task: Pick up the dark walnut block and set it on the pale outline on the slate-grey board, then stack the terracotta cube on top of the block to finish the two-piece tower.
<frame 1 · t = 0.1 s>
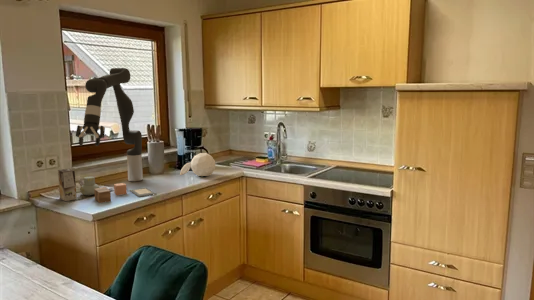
hand: (88, 145, 209), 31 cm above the table, fingers open, 8 cm apart
terracotta cube: (120, 193, 235), on the table
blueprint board: (142, 192, 236), on the table
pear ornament: (198, 175, 285), on the table
air freshener: (90, 194, 233), on the table
walnut block: (102, 200, 221), on the table
coffee box: (68, 198, 224), on the table
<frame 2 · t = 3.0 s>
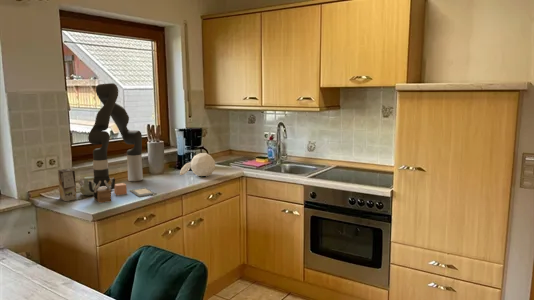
hand: (102, 197, 221), 1 cm above the table, fingers closed on walnut block, 6 cm apart
walnut block: (102, 200, 221), on the table, touching gripper
everything else where it was.
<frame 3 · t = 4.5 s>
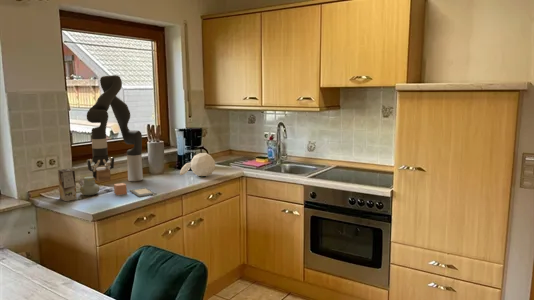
hand: (101, 177, 219), 13 cm above the table, fingers closed on walnut block, 6 cm apart
walnut block: (102, 179, 219), point 11 cm above the table, touching gripper
everything else where it was.
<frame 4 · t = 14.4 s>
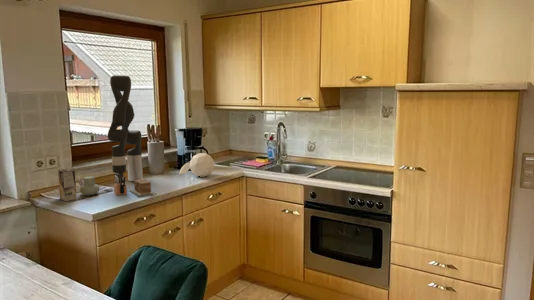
hand: (120, 192, 235), 1 cm above the table, fingers closed on terracotta cube, 5 cm apart
terracotta cube: (120, 193, 235), on the table, touching gripper
walnut block: (142, 191, 236), point 1 cm above the table, touching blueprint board
everything else where it was.
when the fingers open (9 cm above the table, at t = 20.3 s): terracotta cube drops 1 cm, resting on walnut block.
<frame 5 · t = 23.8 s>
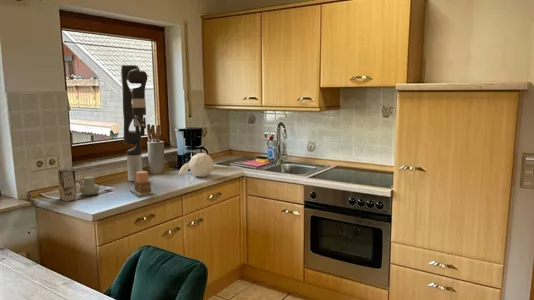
hand: (140, 135, 231), 34 cm above the table, fingers open, 8 cm apart
terracotta cube: (142, 181, 235), point 7 cm above the table, touching walnut block
walnut block: (142, 191, 236), point 1 cm above the table, touching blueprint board, terracotta cube
at the end: walnut block 0.1 cm off-centre on the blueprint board, point 0.9 cm above the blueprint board's base; terracotta cube 0.1 cm off-centre on the walnut block, point 6.0 cm above the walnut block's base; terracotta cube tilted 0° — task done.
